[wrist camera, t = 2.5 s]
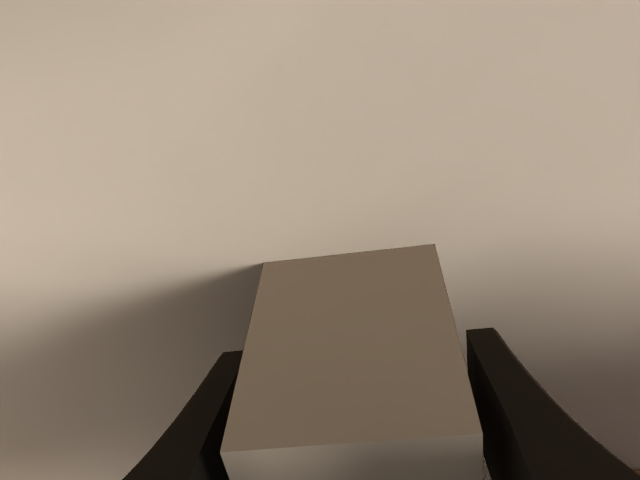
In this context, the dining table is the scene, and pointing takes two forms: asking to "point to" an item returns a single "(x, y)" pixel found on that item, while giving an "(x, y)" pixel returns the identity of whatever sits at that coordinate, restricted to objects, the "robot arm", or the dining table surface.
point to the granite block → (353, 374)
